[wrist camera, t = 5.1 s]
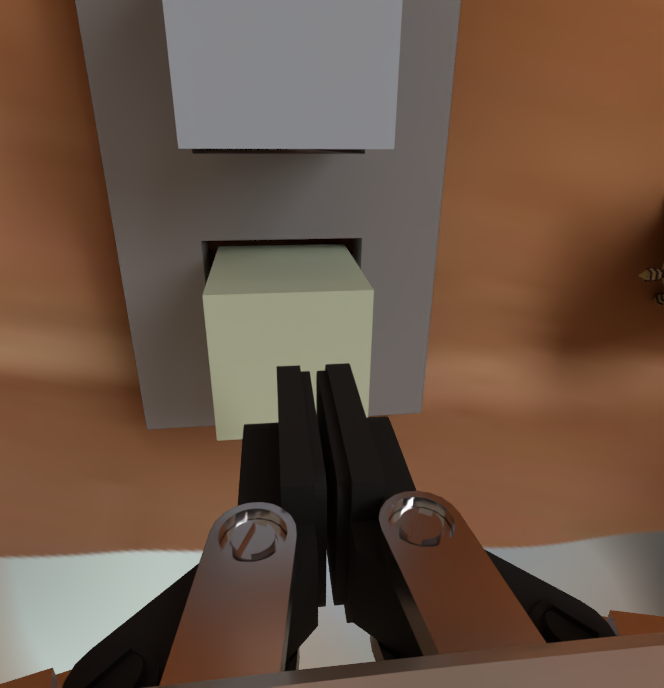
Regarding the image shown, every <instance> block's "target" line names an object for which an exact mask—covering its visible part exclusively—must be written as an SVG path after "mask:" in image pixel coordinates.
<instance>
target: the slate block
mask: <svg viewBox="0 0 664 688" xmlns="http://www.w3.org/2000/svg"><path fill="white" fill-rule="evenodd" d="M162 2H163V11H164V21H165V30H166V39H167V48H168V58H169V67H170V76H171V85H172V95H173V104H174V113H175V123H176V132H177V141H178V149H394V144H395V126H396V109H397V91H398V73H399V55H400V38H401V20H402V2H403V0H162Z"/></svg>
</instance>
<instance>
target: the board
mask: <svg viewBox="0 0 664 688" xmlns="http://www.w3.org/2000/svg"><path fill="white" fill-rule="evenodd" d="M75 3H76V9H77V15H78V21H79V27H80V33H81V39H82V45H83V51H84V57H85V63H86V69H87V75H88V80H89V86H90V92H91V98H92V104H93V110H94V116H95V122H96V128H97V134H98V140H99V146H100V152H101V158H102V164H103V170H104V176H105V182H106V188H107V194H108V200H109V206H110V212H111V218H112V224H113V229H114V235H115V241H116V247H117V253H118V259H119V265H120V271H121V277H122V283H123V289H124V295H125V301H126V307H127V313H128V319H129V325H130V331H131V337H132V343H133V349H134V355H135V361H136V367H137V373H138V378H139V384H140V390H141V396H142V402H143V408H144V414H145V420H146V426H147V430H150V429H166V428H182V427H198V426H215V415H214V405H213V395H212V385H211V375H210V365H209V356H208V346H207V336H206V326H205V316H204V306H203V296H202V295H203V292H204V289H205V286H206V283H207V280H208V277H209V274H210V264H209V253H208V242H207V241H221V240H276V239H330V238H353V258H354V260H355V261H356V263H357V265H358V266H359V268H360V269H361V271H362V272H363V274H364V275H365V277H366V278H367V280H368V282H369V283H370V285H371V286H372V288H373V289H374V300H373V322H372V343H371V365H370V387H369V409H368V416H378V415H394V414H410V413H421V409H422V399H423V389H424V378H425V368H426V358H427V347H428V337H429V326H430V316H431V306H432V295H433V285H434V275H435V264H436V254H437V243H438V233H439V223H440V212H441V202H442V192H443V181H444V171H445V160H446V150H447V140H448V129H449V119H450V108H451V98H452V88H453V77H454V67H455V57H456V46H457V36H458V25H459V15H460V5H461V0H403V2H402V20H401V38H400V55H399V73H398V91H397V109H396V126H395V144H394V149H355V150H199V149H178V141H177V132H176V123H175V113H174V104H173V95H172V85H171V76H170V67H169V58H168V48H167V39H166V30H165V21H164V11H163V2H162V0H75Z"/></svg>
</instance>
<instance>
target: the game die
mask: <svg viewBox="0 0 664 688" xmlns="http://www.w3.org/2000/svg"><path fill="white" fill-rule="evenodd" d="M638 276H639V277H641V278H643V279H644V280H645V281H657V280H658V279H660V278H661V280H662V282H663V285H664V263H663V266H662V268H661V270H658V269H656V268H653V269H650V268H647V269H646V270H645V271H644V272H642V273H641V274H640V275H638ZM653 301H654V302H657V303H659V304H661V305H663V304H664V293H660V294H657V295H656V297H655V298H654V299H653Z"/></svg>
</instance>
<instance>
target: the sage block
mask: <svg viewBox="0 0 664 688" xmlns="http://www.w3.org/2000/svg"><path fill="white" fill-rule="evenodd" d="M202 296H203V306H204V316H205V326H206V336H207V346H208V356H209V365H210V375H211V385H212V395H213V405H214V415H215V425H216V435H217V441H221V440H236V439H243V428H244V424H259V423H277V422H278V396H277V367H276V366H297V365H300V369H301V371H310V376H311V383H312V389H313V396H314V402H315V409H316V374H317V371H323V370H325V365H326V364H343V363H349V364H350V366H351V369H352V373H353V376H354V379H355V382H356V386H357V389H358V392H359V395H360V399H361V402H362V405H363V408H364V411H365V415H366V418H368V409H369V387H370V365H371V343H372V322H373V300H374V289H373V288H372V286H371V285H370V283H369V282H368V280H367V278H366V277H365V275H364V274H363V272H362V271H361V269H360V268H359V266H358V265H357V263H356V261H355V260H354V258H353V257H352V255H351V254H350V252H349V251H348V249H347V248H346V246H345V245H344V244H313V245H263V246H219V247H218V250H217V253H216V256H215V259H214V262H213V265H212V268H211V271H210V274H209V277H208V280H207V283H206V286H205V289H204V292H203V295H202Z"/></svg>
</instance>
